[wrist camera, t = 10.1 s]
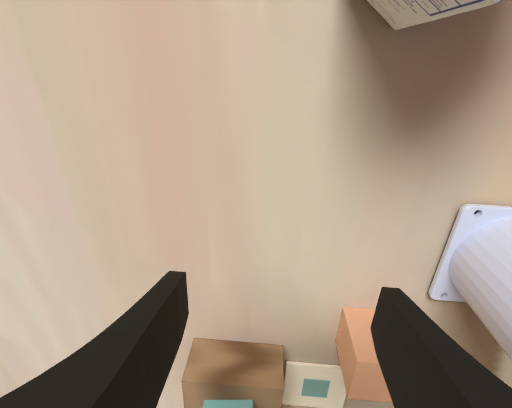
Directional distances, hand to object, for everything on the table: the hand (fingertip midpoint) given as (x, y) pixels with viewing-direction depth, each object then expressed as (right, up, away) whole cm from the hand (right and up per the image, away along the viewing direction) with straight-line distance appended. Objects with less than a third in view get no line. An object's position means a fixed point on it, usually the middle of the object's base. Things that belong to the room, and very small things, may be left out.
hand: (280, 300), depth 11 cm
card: (+5, -14, +18) cm, 23 cm away
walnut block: (-3, -12, +18) cm, 22 cm away
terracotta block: (+8, -7, +14) cm, 18 cm away
